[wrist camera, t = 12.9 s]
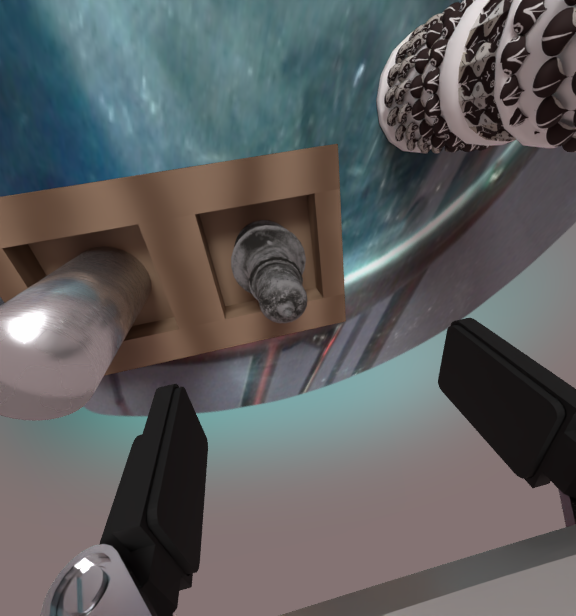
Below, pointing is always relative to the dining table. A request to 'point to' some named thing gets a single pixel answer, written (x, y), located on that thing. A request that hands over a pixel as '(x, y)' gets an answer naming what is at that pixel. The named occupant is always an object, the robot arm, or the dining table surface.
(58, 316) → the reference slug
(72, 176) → the dining table surface
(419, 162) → the dining table surface
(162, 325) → the compartment tray
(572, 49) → the decorative candle
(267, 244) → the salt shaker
